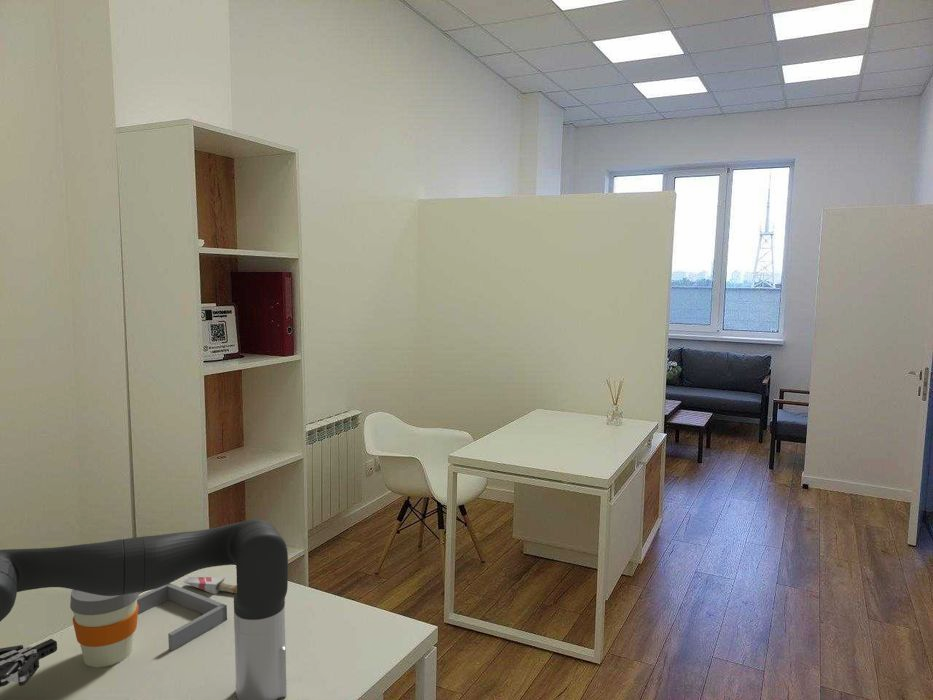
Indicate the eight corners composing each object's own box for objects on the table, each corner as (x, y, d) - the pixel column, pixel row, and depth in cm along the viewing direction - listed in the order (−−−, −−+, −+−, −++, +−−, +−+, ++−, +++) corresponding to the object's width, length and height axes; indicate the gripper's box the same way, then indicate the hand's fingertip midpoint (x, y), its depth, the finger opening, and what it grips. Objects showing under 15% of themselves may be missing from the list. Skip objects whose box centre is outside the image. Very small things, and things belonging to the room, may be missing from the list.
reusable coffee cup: (134, 630, 148) (130, 567, 146) (148, 657, 139) (145, 589, 136) (68, 650, 140) (64, 583, 138) (79, 680, 131) (75, 608, 129)
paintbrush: (191, 570, 170) (261, 585, 166) (191, 580, 171) (261, 595, 166) (181, 577, 167) (252, 592, 162) (181, 587, 167) (252, 602, 162)
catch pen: (172, 650, 141) (171, 635, 141) (113, 623, 151) (112, 608, 151) (227, 619, 154) (226, 605, 153) (168, 596, 163) (168, 582, 163)
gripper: (-31, 685, 111) (74, 636, 126) (-69, 660, 117) (34, 616, 132) (-28, 726, 112) (75, 673, 127) (-66, 699, 118) (36, 651, 133)
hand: (54, 644), depth 129 cm, fingers closed
